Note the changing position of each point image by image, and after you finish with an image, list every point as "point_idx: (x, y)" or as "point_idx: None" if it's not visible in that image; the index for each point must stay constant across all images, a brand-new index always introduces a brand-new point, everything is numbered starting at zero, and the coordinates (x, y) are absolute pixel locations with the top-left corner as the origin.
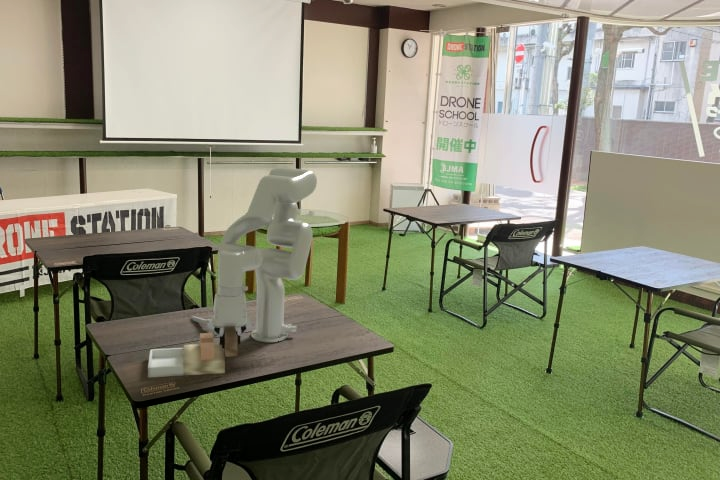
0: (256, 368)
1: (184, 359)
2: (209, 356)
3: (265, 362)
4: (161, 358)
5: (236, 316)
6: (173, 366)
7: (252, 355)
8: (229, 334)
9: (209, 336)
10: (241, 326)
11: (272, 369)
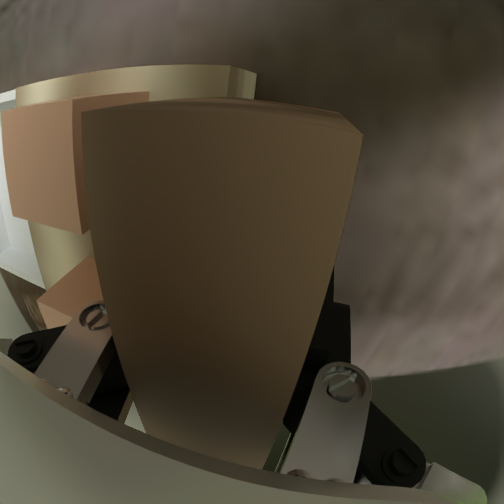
0: (392, 325)
1: (43, 274)
2: None
3: (465, 279)
4: None
5: None
6: (34, 283)
7: (450, 158)
8: None
9: (52, 200)
10: (367, 465)
11: (445, 351)
